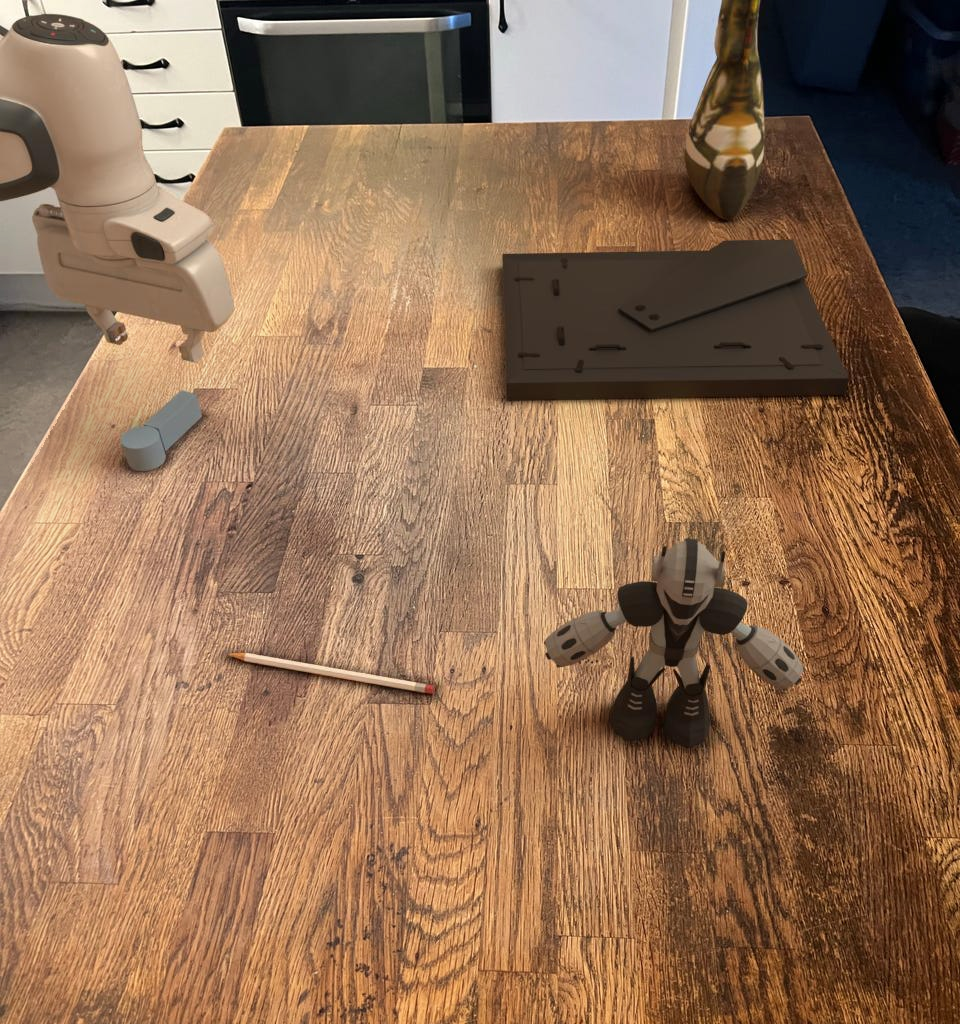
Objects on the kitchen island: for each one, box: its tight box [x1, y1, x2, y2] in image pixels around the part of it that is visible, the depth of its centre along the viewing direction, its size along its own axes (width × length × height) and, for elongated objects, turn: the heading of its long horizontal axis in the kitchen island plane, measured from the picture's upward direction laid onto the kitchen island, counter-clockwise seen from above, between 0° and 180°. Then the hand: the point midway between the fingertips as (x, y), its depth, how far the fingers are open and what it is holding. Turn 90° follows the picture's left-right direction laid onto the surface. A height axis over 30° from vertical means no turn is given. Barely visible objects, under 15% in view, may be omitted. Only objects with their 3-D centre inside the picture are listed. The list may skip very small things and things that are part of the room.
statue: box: [684, 0, 766, 221], centre depth 135 cm, size 16×11×35 cm, turn 3°
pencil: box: [228, 652, 435, 695], centre depth 85 cm, size 1×19×1 cm, turn 76°
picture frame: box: [501, 238, 850, 401], centre depth 122 cm, size 31×4×38 cm
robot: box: [543, 537, 804, 749], centre depth 74 cm, size 20×5×20 cm, turn 81°
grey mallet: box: [119, 389, 203, 472], centre depth 108 cm, size 11×4×3 cm, turn 157°
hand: (155, 350), depth 102 cm, fingers open, 8 cm apart
